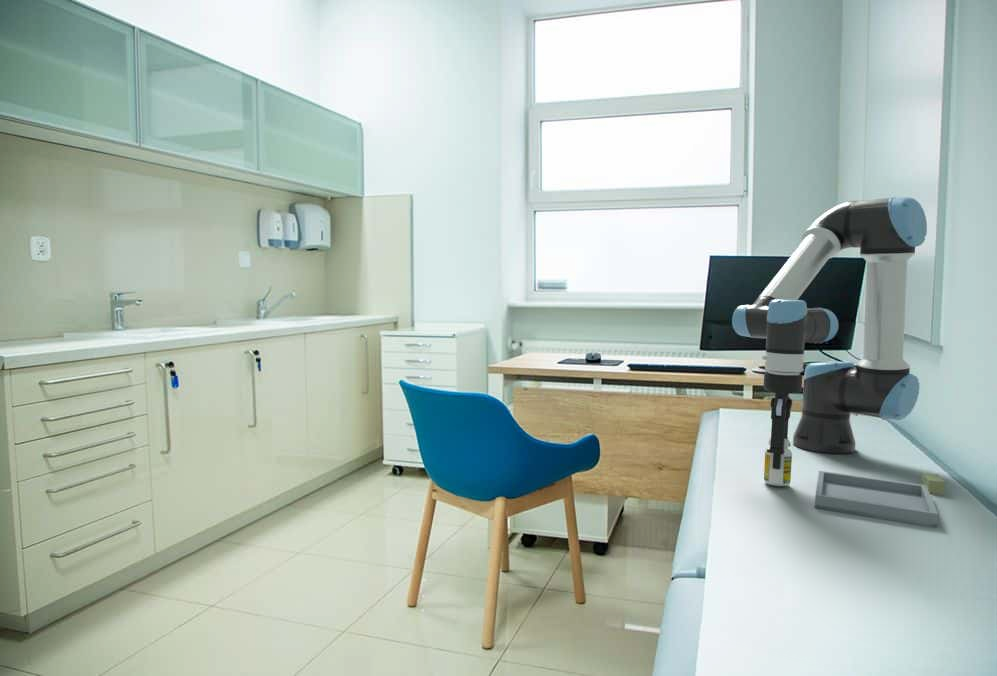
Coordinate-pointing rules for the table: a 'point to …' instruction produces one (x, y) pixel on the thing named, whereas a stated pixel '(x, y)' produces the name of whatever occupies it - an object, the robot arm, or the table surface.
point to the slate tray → (876, 498)
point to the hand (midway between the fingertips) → (777, 479)
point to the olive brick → (934, 483)
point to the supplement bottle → (786, 464)
